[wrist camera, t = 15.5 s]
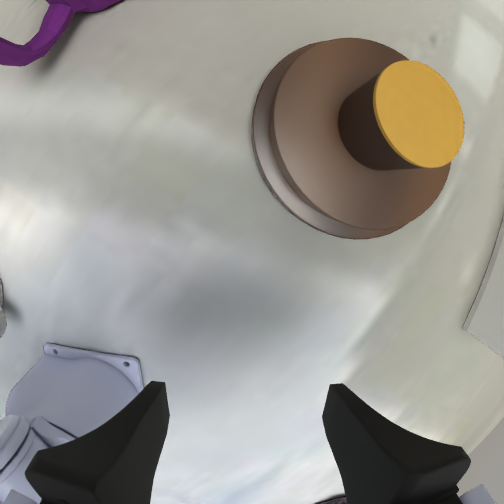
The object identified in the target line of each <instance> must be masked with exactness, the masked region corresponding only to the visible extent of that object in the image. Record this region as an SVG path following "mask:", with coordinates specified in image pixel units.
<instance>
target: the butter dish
mask: <svg viewBox="0 0 504 504" xmlns="http://www.w3.org/2000/svg"><path fill="white" fill-rule="evenodd" d="M462 328H463V329H464V330H466V331H467V332H468V333H470V334H471V335H473V336H474V337H475V338H477V339H478V340H479V341H481V342H482V343H483V344H485V345H486V346H487V347H489V348H490V349H491V350H493V351H494V352H495V353H497V354H498V355H499V356H501V357H502V358H503V359H504V216H503V220H502V223H501V227H500V231H499V234H498V237H497V241H496V244H495V247H494V250H493V253H492V256H491V259H490V262H489V265H488V268H487V271H486V273H485V276H484V279H483V281H482V284H481V287H480V289H479V291H478V294H477V296H476V299H475V301H474V303H473V306H472V308H471V310H470V312H469V315H468V317H467V319H466V321H465V323H464V325H463V327H462Z"/></svg>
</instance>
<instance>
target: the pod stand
mask: <svg viewBox="0 0 504 504" xmlns="http://www.w3.org/2000/svg"><path fill="white" fill-rule="evenodd" d="M404 60H409V59H408V58H406V57H405V56H404V55H402V54H400V53H399V52H397V51H396V50H394V49H392V48H390V47H387V46H385V45H383V44H380V43H377V42H374V41H370V40H365V39H359V38H339V39H334V40H329V41H322V42H318V43H313V44H309V45H307V46H304V47H302V48H299V49H297V50H296V51H294V52H292V53H291V54H289V55H287V56H286V57H285V58H284V59H282V60H281V61H280V62H279V63H278V64H277V65H276V66H275V67H274V68H273V69H272V70H271V72H270V73H269V74H268V76H267V78H266V79H265V81H264V82H263V84H262V86H261V89H260V91H259V93H258V96H257V99H256V103H255V107H254V111H253V118H252V142H253V148H254V154H255V157H256V160H257V164H258V167H259V169H260V171H261V173H262V176H263V178H264V180H265V181H266V183H267V185H268V186H269V188H270V190H271V191H272V193H273V194H274V195H275V196H276V198H277V199H278V200H279V201H280V203H281V204H282V205H284V206H285V207H286V208H287V209H288V210H289V211H290V212H291V213H292V214H293V215H295V216H296V217H297V218H299V219H300V220H301V221H303V222H305V223H307V224H308V225H310V226H312V227H313V228H315V229H317V230H320V231H322V232H324V233H327V234H329V235H333V236H337V237H341V238H348V239H370V238H376V237H381V236H384V235H387V234H390V233H392V232H394V231H396V230H398V229H400V228H402V227H403V226H405V225H406V224H408V223H409V222H410V221H412V220H414V219H416V218H417V217H419V216H420V215H421V214H423V213H424V212H425V211H426V210H427V209H428V208H429V207H430V206H431V205H432V204H433V203H434V201H435V200H436V199H437V197H438V196H439V194H440V192H441V191H442V189H443V187H444V185H445V182H446V180H447V177H448V174H449V170H450V165H451V161H450V162H449V163H448V164H446V165H444V166H441V167H438V168H421V169H401V170H385V171H380V170H374V169H371V168H368V167H366V166H364V165H362V164H361V163H359V162H358V161H357V160H356V159H355V158H354V157H353V156H352V155H351V154H350V153H349V152H348V150H347V149H346V147H345V146H344V143H343V141H342V139H341V136H340V132H339V126H338V117H339V112H340V108H341V106H342V104H343V102H344V101H345V99H346V98H347V97H348V96H349V95H350V94H352V93H353V92H354V91H356V90H357V89H358V88H360V87H361V86H362V85H364V84H365V83H366V82H368V81H369V80H370V79H372V78H373V77H374V76H376V75H377V74H378V73H380V72H381V71H383V70H384V69H385V68H387V67H388V66H390V65H391V64H393V63H395V62H398V61H404Z"/></svg>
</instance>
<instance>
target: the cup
mask: <svg viewBox="0 0 504 504" xmlns="http://www.w3.org/2000/svg"><path fill="white" fill-rule="evenodd" d="M2 304H3V291H2V284H1V281H0V338H1V336H2V335H3V333H4V332H5V329H6V326H7V322H6V317H5V314H4V312H3V310H2Z"/></svg>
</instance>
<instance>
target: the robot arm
mask: <svg viewBox="0 0 504 504" xmlns="http://www.w3.org/2000/svg"><path fill="white" fill-rule="evenodd" d="M43 350H44V353H45V355H44V356H43V357H42V358H41V359H40V360H39V361H38V362H37V363H36V364H35V365H34V366H33V367H32V368H31V369H30V370H29V371H28V372H27V373H26V374H25V375H24V376H23V377H22V378H21V380H20V381H19V382H18V383H17V384H16V385H15V386H14V387H13V389H12V390H11V392H10V394H9V397H8V399H7V404H6V417H4V418H3V419H1V420H0V504H150V499H151V492H152V485H153V479H154V475H155V471H156V467H157V464H158V461H159V458H160V454H161V451H162V448H163V445H164V441H165V438H166V435H167V429H168V423H169V417H170V414H169V407H168V401H167V393H166V386H165V382H157V381H151V382H150V383H149V384H148V385H147V386H146V387H145V388H144V387H143V381H142V375H141V369H140V363H139V361H138V360H137V359H136V358H133V357H125V356H118V355H111V354H104V353H98V352H92V351H86V350H80V349H75V348H69V347H64V346H59V345H54V344H50V343H46V344H44V345H43ZM56 350H57V351H58V352H57V351H56ZM125 361H126V362H128V363H129V364H127V363H126V362H125ZM322 419H323V424H324V428H325V433H326V436H327V439H328V442H329V444H330V447H331V450H332V452H333V455H334V458H335V460H336V463H337V466H338V468H339V471H340V474H341V477H342V481H343V486H344V490H345V495H346V500H347V504H496V502H495V501H494V499H493V498H492V496H491V495H490V494H489V492H488V491H487V489H486V488H485V486H484V485H483V484H481V485H479V486H477V487H475V488H473V489H471V490H470V491H468V492H466V493H464V494H463V495H462V496H460V497H458V495H457V494H456V493H457V492H458V491H459V488H458V487H457V485H456V484H457V483H458V482H459V480H460V479H461V478H462V476H463V475H464V474H465V473H466V471H467V470H468V468H469V466H470V463H471V460H470V458H469V456H468V455H467V454H466V452H465V451H464V450H463V448H462V447H459V446H454V445H449V444H444V443H440V442H436V441H433V440H430V439H427V438H424V437H421V436H419V435H416V434H414V433H412V432H409V431H407V430H405V429H403V428H402V427H400V426H398V425H396V424H394V423H393V422H391V421H389V420H388V419H386V418H385V417H383V416H382V415H381V414H379V413H378V412H376V411H375V410H374V409H372V408H371V407H370V406H369V405H367V404H366V403H365V402H364V401H363V400H361V399H360V398H359V397H358V396H357V395H356V394H354V393H353V392H352V391H351V390H350V389H349V388H348V387H346V386H345V385H344V384H343V383H341V384H330V386H329V390H328V395H327V399H326V403H325V407H324V411H323V415H322Z"/></svg>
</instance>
